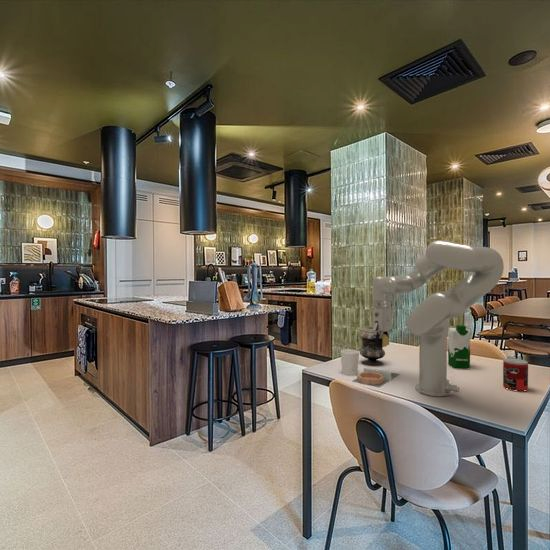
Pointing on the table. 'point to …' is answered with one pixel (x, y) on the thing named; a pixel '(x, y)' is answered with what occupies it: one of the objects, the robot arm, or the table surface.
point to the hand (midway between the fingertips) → (382, 345)
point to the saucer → (370, 378)
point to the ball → (385, 340)
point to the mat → (383, 381)
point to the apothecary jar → (370, 348)
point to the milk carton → (459, 347)
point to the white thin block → (386, 374)
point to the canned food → (515, 374)
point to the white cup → (349, 361)
